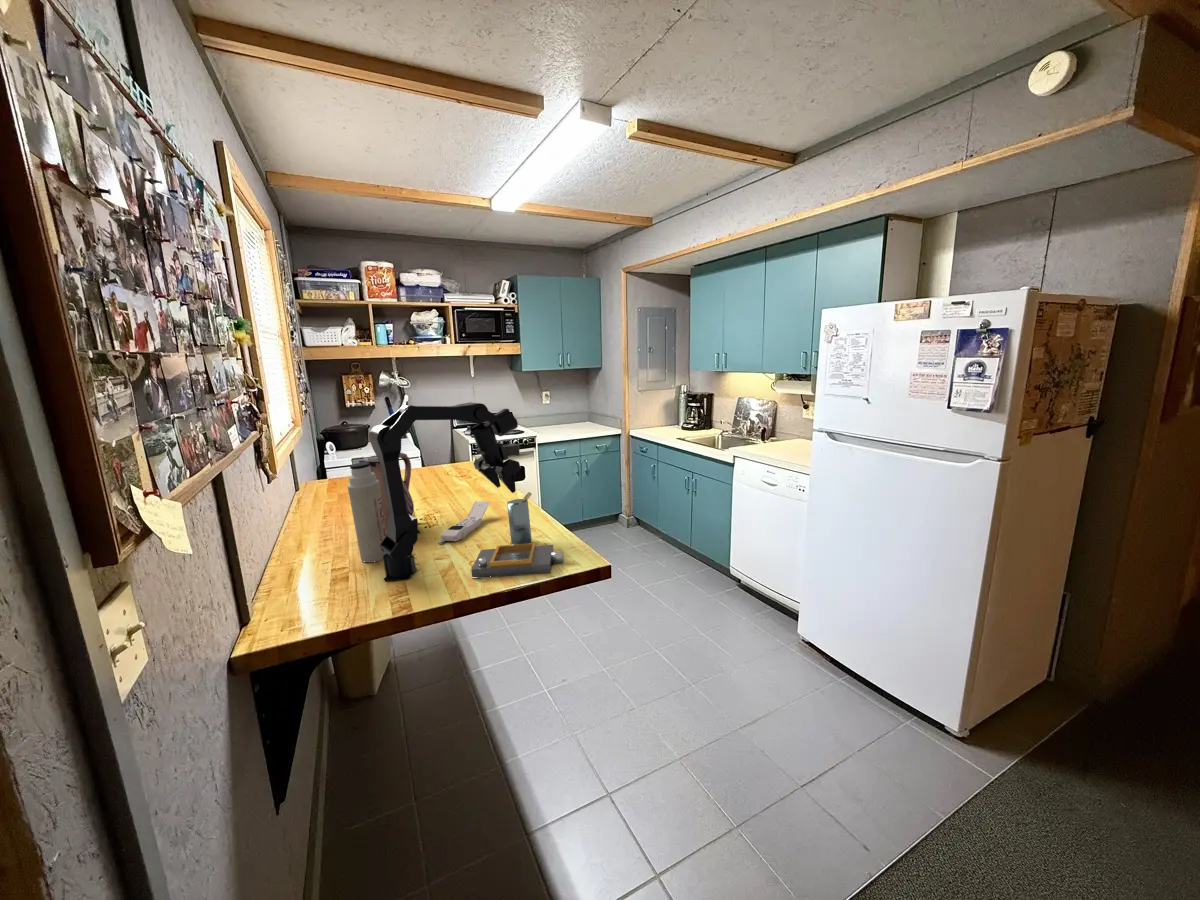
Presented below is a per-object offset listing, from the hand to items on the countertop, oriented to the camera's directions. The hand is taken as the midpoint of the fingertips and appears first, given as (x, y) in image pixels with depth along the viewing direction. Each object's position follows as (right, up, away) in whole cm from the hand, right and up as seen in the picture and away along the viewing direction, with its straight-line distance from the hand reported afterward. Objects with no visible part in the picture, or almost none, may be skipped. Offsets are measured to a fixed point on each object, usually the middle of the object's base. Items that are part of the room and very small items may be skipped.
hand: (506, 489), depth 143 cm
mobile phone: (-15, -14, +12) cm, 24 cm away
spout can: (+5, -16, -3) cm, 17 cm away
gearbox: (+7, -19, -16) cm, 26 cm away
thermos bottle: (-37, -19, -6) cm, 42 cm away
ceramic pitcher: (-41, -15, +16) cm, 47 cm away
